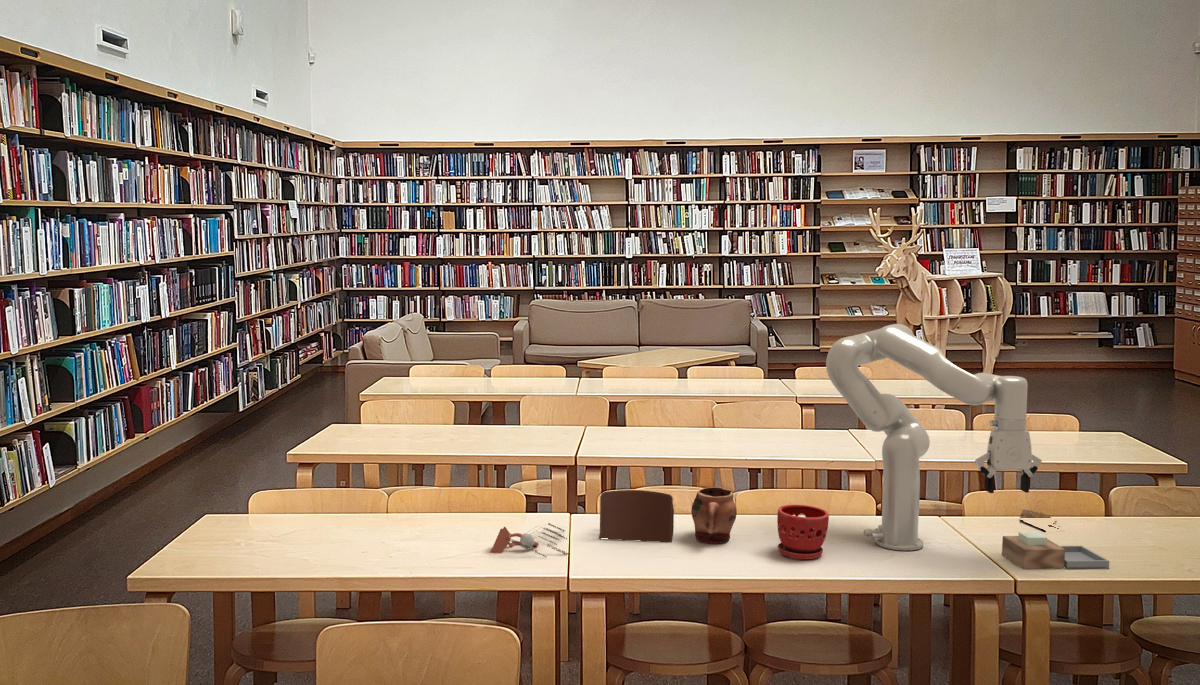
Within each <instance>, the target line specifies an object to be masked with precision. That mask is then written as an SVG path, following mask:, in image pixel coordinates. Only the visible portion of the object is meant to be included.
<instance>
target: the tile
mask: <svg viewBox="0 0 1200 685" xmlns="http://www.w3.org/2000/svg"><path fill="white" fill-rule="evenodd" d="M1017 536H1018V540H1019V541H1021V542H1023V543H1024V544H1026V545H1047V539H1048V537H1047V536H1045V535H1044V534H1042V533H1039V532H1037V531H1022V532H1018V535H1017Z"/></svg>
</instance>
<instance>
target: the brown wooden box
mask: <svg viewBox="0 0 1200 685" xmlns="http://www.w3.org/2000/svg"><path fill="white" fill-rule="evenodd" d="M1018 536H1019V535H1003V536H1002V543H1001V555H1002V554H1003V555H1004V556H1003V555H1002V556H1003V557H1005V556H1006V557H1007V558H1006V557H1005V558H1006V559H1008V558H1009V559H1010V560H1009V559H1008V560H1009V561H1011V562H1012V561H1013V562H1012V563H1014V564H1015V563H1016V564H1015V565H1017V566H1018V565H1019V567H1020V568H1021V567H1022V568H1021V569H1023V570H1047V569H1046V568H1064V560H1065V549H1064V548H1062V547H1060V546H1061V545H1059V544H1057V543H1055V542H1053V541H1051V540H1050V539H1048V538H1047V545H1026V544H1024V543H1023V542H1021V541H1019V540H1018ZM1064 569H1065V568H1064Z"/></svg>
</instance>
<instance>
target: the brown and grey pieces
mask: <svg viewBox="0 0 1200 685" xmlns="http://www.w3.org/2000/svg"><path fill="white" fill-rule="evenodd" d="M547 525H548V526H551V527H553V528H556V529H558V530H559V531H562V532H564V531H565V529H563V528H560V527H558V526H556V525H555V524H552V523H550V522H548V523H547V524H545V526H547ZM535 528H537V526H535V527H533V528H532V529H531V530H528V531H527V532H525V533H519V532H515V533H511V532H510V531H509V530H508V528H507V527H506V526H503V528H500V529H499V532H498V534H497V536H496V539H495V541H494V543H493V545H492V548H491V550H490V553H491V554H494V553H495V554H499V553H502V552H503V551H504V550H505V549H506V548H507V546H509V547H511V548H513V547H514V546H516V545H518V546H520V547H522V548H523V549H526V550H528V551H529V550H530V551H531V552H534V553H535V554H536V553H537V554H538V555H540V556H542V557H544V558H547V555H544V554H543V553H540V552H538V550H537V549H535V548H533V547H532V546H534V547H538V546H540V541H539V540H537V539H536V538H540V539H542V540H545V541H547V542H549V543H552V544H554V545H555V546H557V545H558V544H557V543H556V542H554V541H552V540H549V539H547V538H544V537H543V536H541V534H543V535H544V536H546V537H548V538H551V539H553V540H556V541H559V540H560V538H557V537H555V536H552V535H550V534H548V533H546V532H543V531H548V532H550V533H552V534H554V535H557V536H558V537H561V538H564V539H565V537H566V536H565V535H563V536H562V534H561V533H558V532H557V531H555V530H552V529H550V528H548V527H546V528H545V527H543V526H542V527H541V526H540V527H539V528H538V530H535V531H533V532H531V531H532V530H534V529H535ZM539 529H542V530H541V531H539ZM529 532H531V533H529ZM536 533H537V534H536ZM514 537H517V538H520V539H519V540H515V539H513V538H514ZM549 543H547V544H545V543H544V545H546V547H548V548H551V549H552V550H554V551H557V552H559V553H561V554H564V555H566V556H567V555H570V553H569V552H566V551H564V550H562V549H560V548H557V547H555V546H552V545H551V544H549Z"/></svg>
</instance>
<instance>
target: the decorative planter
mask: <svg viewBox="0 0 1200 685" xmlns="http://www.w3.org/2000/svg"><path fill="white" fill-rule="evenodd" d="M737 513H738V512H737V506H736V503H735V501H734V493H733V491H732V490H731V489H728V488H727V489H726V488H723V487H721V486H711V487H703V488H701V489H700V490H698V491H697V493H696V496H695V497H694V500H693V502H692V504H691V519H692V520H693V524H694V533H695V534H694V535H695V539H696V541H697V542H699V543H704V544H723V543H727V542H728V541H729V540H730V539H731V532H732V529H733V526H734V524H735V523H736V522H735V521H736V519H737Z"/></svg>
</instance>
